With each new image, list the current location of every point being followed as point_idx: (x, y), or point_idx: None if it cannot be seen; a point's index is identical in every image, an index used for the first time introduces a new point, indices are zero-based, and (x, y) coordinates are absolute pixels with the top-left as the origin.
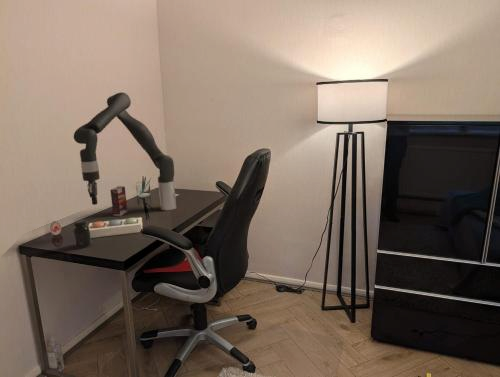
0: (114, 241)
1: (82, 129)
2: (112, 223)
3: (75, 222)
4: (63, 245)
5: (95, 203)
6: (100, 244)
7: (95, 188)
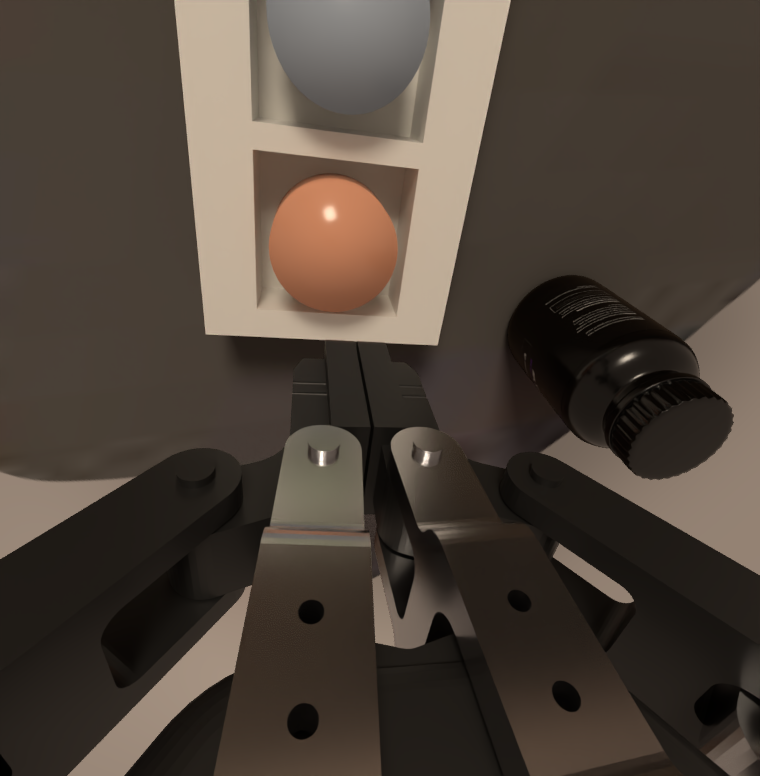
0: (641, 70)
1: None
2: (420, 61)
3: (682, 468)
4: (472, 434)
5: (405, 371)
6: (621, 203)
7: (621, 712)
